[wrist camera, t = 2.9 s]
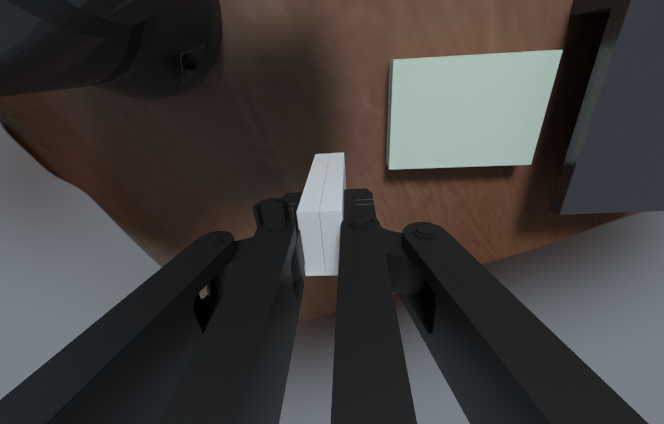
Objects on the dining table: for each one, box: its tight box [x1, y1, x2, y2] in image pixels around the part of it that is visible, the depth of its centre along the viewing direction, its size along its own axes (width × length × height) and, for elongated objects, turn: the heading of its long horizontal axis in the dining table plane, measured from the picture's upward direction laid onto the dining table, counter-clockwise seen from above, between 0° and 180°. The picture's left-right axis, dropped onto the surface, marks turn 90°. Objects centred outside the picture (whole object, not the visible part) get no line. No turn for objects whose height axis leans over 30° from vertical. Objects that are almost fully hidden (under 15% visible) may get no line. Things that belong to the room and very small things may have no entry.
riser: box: [550, 0, 664, 215], centre depth 26 cm, size 12×18×6 cm, turn 4°
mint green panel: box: [386, 50, 563, 170], centre depth 28 cm, size 14×10×3 cm
